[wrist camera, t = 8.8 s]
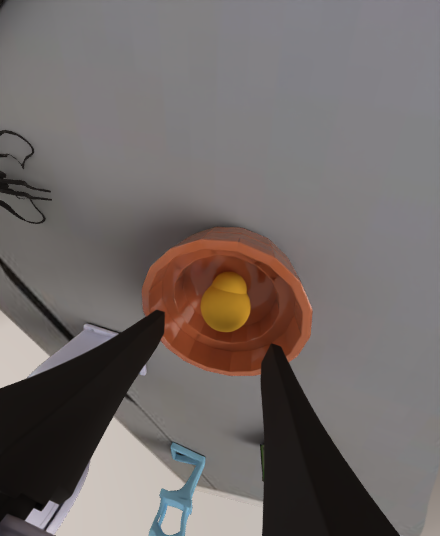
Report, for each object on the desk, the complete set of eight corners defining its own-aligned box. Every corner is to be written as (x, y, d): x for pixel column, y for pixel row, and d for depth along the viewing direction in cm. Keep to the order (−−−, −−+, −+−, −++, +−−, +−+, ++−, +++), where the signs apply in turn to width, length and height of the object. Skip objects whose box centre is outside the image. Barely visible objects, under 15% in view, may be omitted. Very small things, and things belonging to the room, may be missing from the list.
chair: (205, 464, 39) (186, 566, 28) (174, 453, 40) (145, 547, 29) (206, 453, 35) (184, 564, 25) (172, 441, 37) (138, 542, 26)
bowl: (168, 317, 19) (145, 350, 15) (172, 210, 13) (136, 217, 9) (269, 347, 18) (273, 393, 14) (321, 244, 12) (355, 269, 8)
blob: (203, 303, 16) (192, 337, 12) (210, 261, 14) (200, 286, 10) (242, 312, 16) (244, 348, 12) (256, 271, 14) (263, 300, 10)
